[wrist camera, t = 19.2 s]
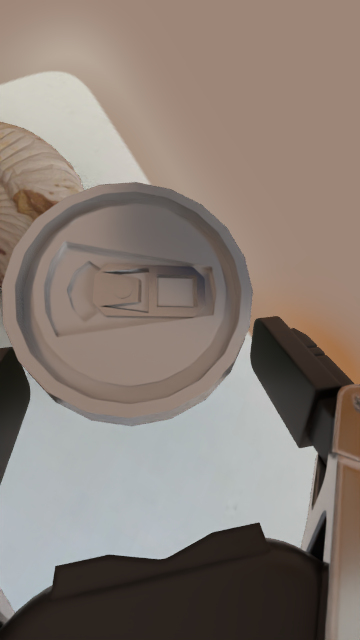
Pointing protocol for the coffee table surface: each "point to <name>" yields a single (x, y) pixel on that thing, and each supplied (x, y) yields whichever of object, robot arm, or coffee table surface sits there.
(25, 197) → the fossil
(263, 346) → the robot arm
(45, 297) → the beer can
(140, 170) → the coffee table surface
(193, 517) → the coffee table surface
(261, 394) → the coffee table surface
